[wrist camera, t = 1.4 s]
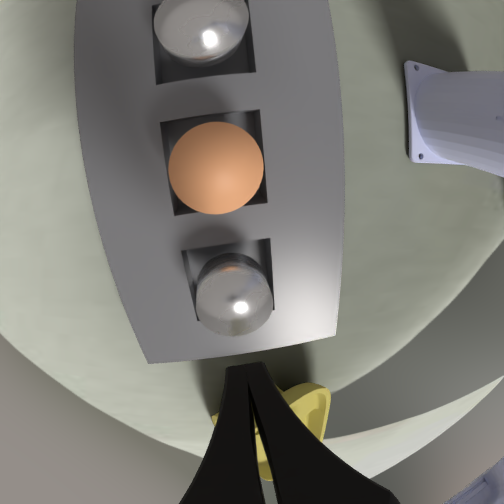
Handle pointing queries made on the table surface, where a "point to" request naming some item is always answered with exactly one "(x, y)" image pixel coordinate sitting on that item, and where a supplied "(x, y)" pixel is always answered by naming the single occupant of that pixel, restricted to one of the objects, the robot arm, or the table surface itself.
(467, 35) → the table surface
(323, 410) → the plastic component
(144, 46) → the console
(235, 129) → the orange plunger
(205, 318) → the plunger
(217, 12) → the plunger
